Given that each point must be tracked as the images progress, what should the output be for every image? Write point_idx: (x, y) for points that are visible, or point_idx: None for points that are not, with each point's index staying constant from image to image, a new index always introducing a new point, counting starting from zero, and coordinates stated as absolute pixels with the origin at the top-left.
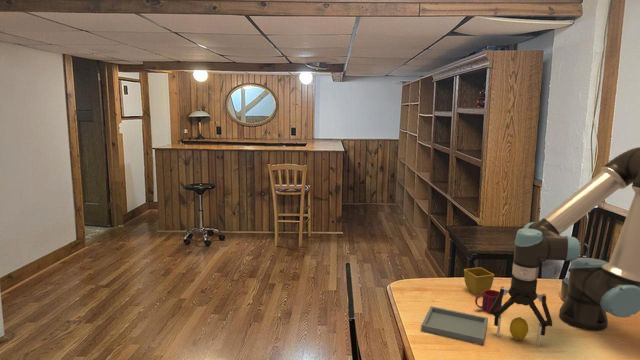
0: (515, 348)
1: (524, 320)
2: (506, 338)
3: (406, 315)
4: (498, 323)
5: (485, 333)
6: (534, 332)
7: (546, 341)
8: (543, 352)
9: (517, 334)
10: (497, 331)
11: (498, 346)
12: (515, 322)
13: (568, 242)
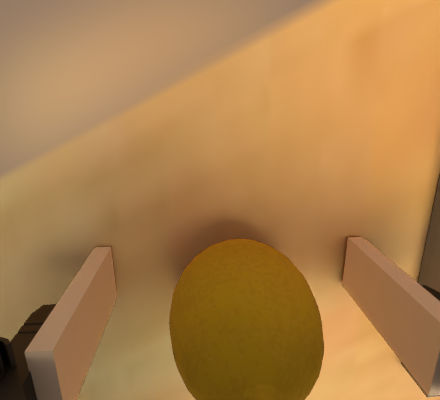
0: (244, 139)
1: (211, 388)
2: (299, 246)
3: None
4: (422, 292)
5: (431, 237)
6: (141, 391)
7: None
8: (61, 176)
9: (248, 243)
10: (380, 253)
11: (356, 110)
12: (298, 325)
13: None
